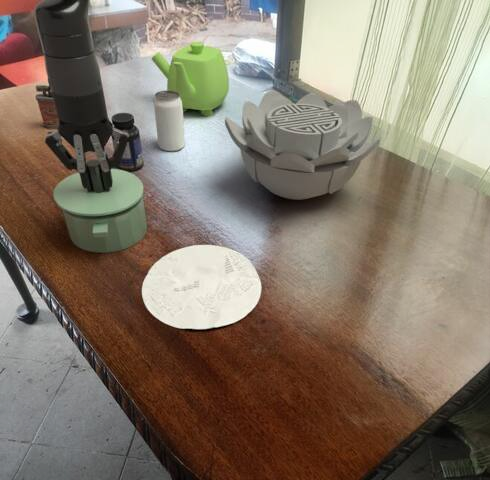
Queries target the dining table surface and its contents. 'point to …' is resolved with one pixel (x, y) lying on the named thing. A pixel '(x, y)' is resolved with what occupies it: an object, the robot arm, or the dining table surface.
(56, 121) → the lighter
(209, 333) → the dining table surface
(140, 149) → the pill bottle
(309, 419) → the dining table surface
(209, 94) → the teapot
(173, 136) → the can
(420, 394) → the dining table surface
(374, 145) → the decorative bowl
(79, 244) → the pot
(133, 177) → the lid
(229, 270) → the plaque
